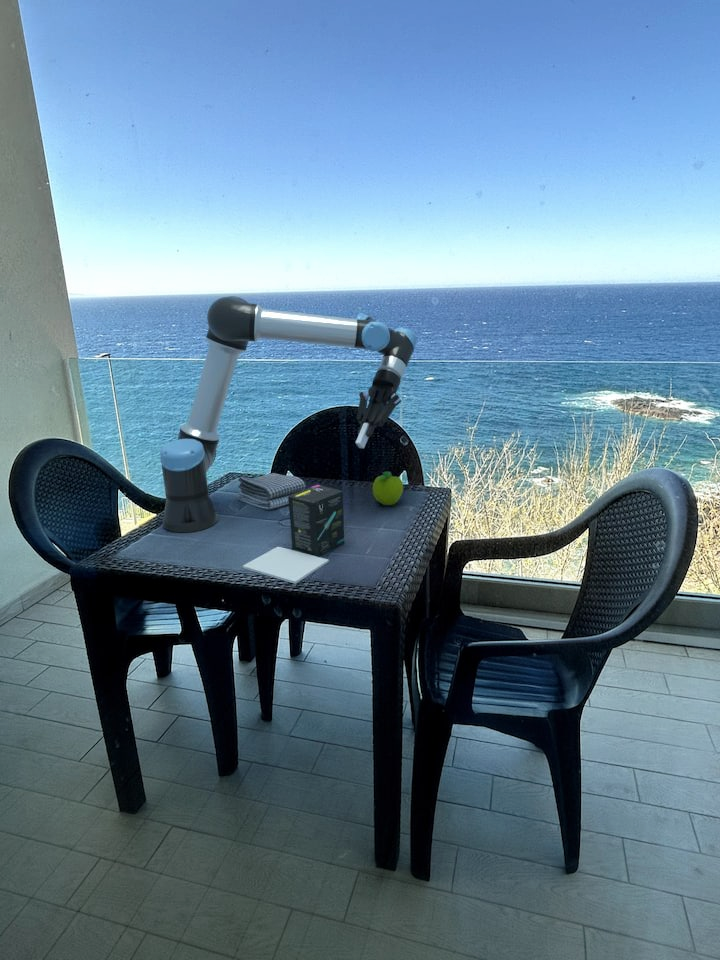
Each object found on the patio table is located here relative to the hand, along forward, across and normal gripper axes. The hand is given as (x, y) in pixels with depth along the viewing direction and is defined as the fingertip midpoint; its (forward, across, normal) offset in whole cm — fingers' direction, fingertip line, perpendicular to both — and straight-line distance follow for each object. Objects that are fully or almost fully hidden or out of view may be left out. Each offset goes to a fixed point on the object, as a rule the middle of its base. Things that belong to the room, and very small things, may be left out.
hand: (359, 445), depth 160 cm
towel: (+14, +36, -18) cm, 42 cm away
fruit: (+5, +1, -27) cm, 28 cm away
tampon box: (+30, +1, -2) cm, 30 cm away
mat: (+39, +1, +8) cm, 40 cm away
